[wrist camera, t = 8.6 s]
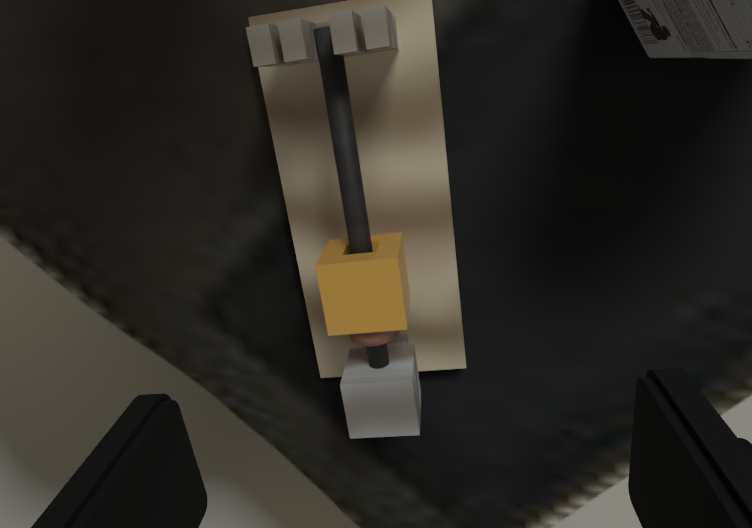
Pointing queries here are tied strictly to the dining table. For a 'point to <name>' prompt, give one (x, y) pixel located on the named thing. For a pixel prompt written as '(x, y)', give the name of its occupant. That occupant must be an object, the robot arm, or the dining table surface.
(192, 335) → the dining table surface
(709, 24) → the coffee box
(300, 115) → the cord rig
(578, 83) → the dining table surface
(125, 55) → the dining table surface
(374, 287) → the sleeve
